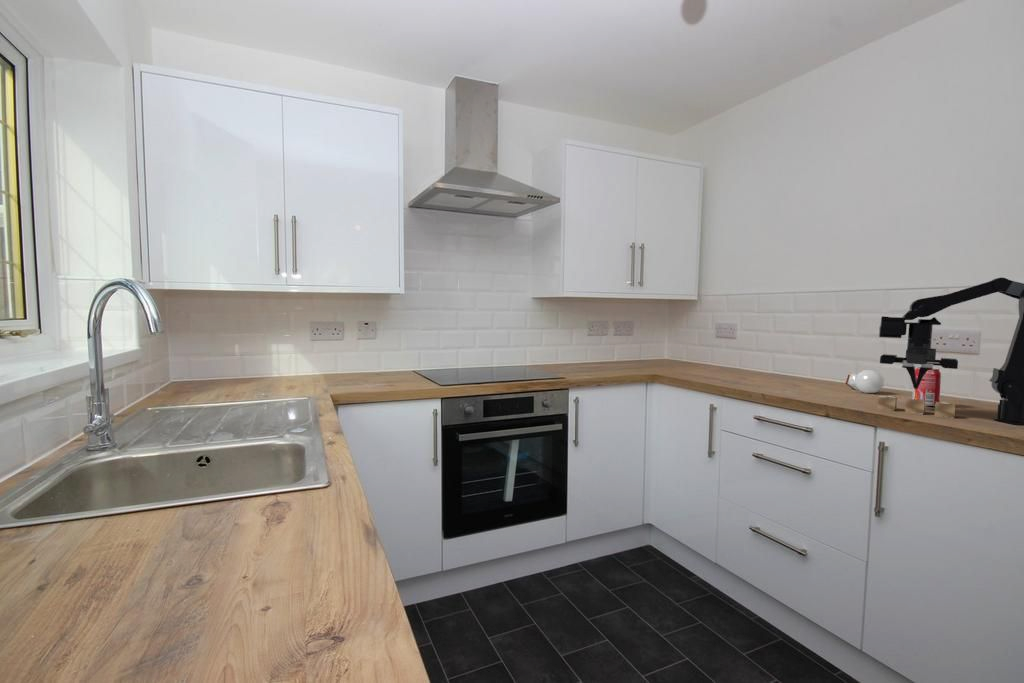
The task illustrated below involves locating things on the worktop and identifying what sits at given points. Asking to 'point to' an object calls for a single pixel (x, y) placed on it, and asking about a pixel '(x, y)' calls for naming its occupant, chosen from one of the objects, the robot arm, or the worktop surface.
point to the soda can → (928, 387)
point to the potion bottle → (866, 381)
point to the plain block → (915, 405)
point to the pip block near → (945, 409)
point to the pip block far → (887, 402)
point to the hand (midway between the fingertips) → (915, 388)
